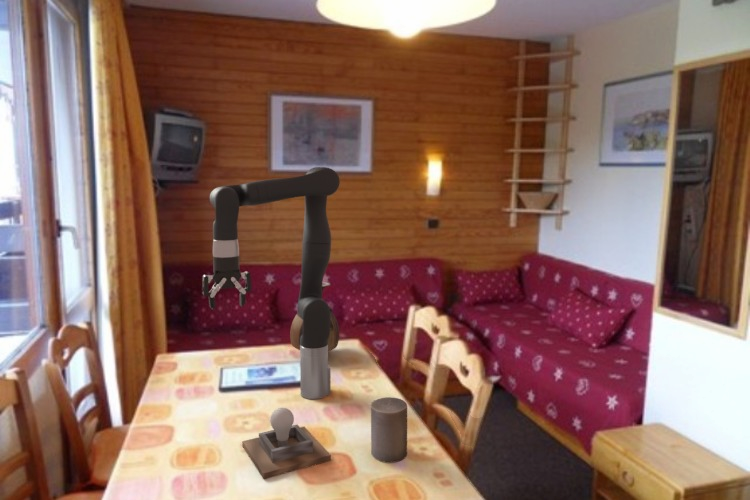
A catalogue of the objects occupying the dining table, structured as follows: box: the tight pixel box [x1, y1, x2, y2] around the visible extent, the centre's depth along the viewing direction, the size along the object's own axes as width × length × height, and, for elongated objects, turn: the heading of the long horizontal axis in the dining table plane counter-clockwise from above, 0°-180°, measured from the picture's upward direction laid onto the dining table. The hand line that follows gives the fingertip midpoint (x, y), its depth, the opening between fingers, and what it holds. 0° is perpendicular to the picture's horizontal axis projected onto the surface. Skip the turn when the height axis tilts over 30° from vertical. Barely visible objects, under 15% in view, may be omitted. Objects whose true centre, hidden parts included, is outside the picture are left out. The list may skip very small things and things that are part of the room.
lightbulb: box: [269, 407, 295, 447], centre depth 143 cm, size 6×6×11 cm
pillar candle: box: [370, 396, 408, 463], centre depth 144 cm, size 10×10×15 cm
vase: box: [289, 281, 340, 352], centre depth 217 cm, size 23×19×30 cm
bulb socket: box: [241, 424, 332, 480], centre depth 144 cm, size 18×18×4 cm
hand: (227, 307), depth 164 cm, fingers open, 8 cm apart
